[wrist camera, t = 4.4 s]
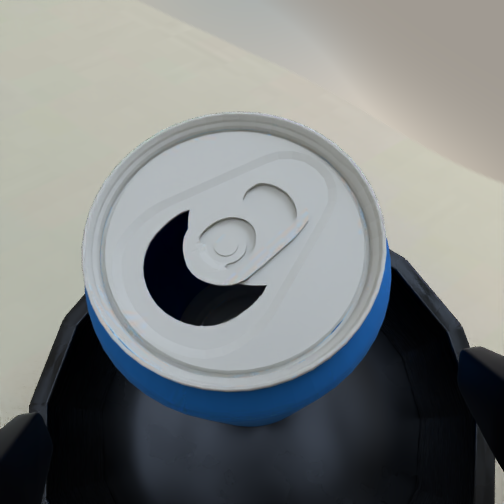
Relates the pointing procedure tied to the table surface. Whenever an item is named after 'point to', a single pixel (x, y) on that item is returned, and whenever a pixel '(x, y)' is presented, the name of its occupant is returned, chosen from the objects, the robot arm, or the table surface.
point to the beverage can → (236, 267)
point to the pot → (275, 426)
